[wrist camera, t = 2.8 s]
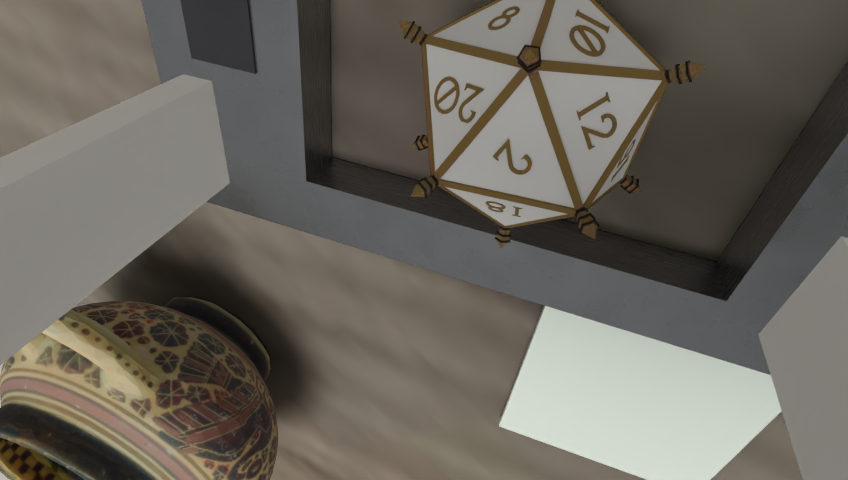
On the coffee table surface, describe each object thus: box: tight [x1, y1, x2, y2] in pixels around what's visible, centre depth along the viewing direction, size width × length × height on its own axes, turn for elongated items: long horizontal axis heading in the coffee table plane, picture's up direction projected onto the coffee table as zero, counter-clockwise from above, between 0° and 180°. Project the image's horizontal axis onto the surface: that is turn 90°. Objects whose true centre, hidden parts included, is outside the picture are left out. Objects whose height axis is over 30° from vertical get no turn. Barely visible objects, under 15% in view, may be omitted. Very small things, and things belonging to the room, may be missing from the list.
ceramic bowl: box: [0, 297, 278, 480], centre depth 32 cm, size 24×18×15 cm
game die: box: [398, 0, 706, 248], centre depth 15 cm, size 9×8×10 cm
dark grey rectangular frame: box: [141, 0, 848, 375], centre depth 17 cm, size 32×18×3 cm, turn 83°
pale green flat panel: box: [499, 306, 782, 480], centre depth 26 cm, size 12×12×1 cm
